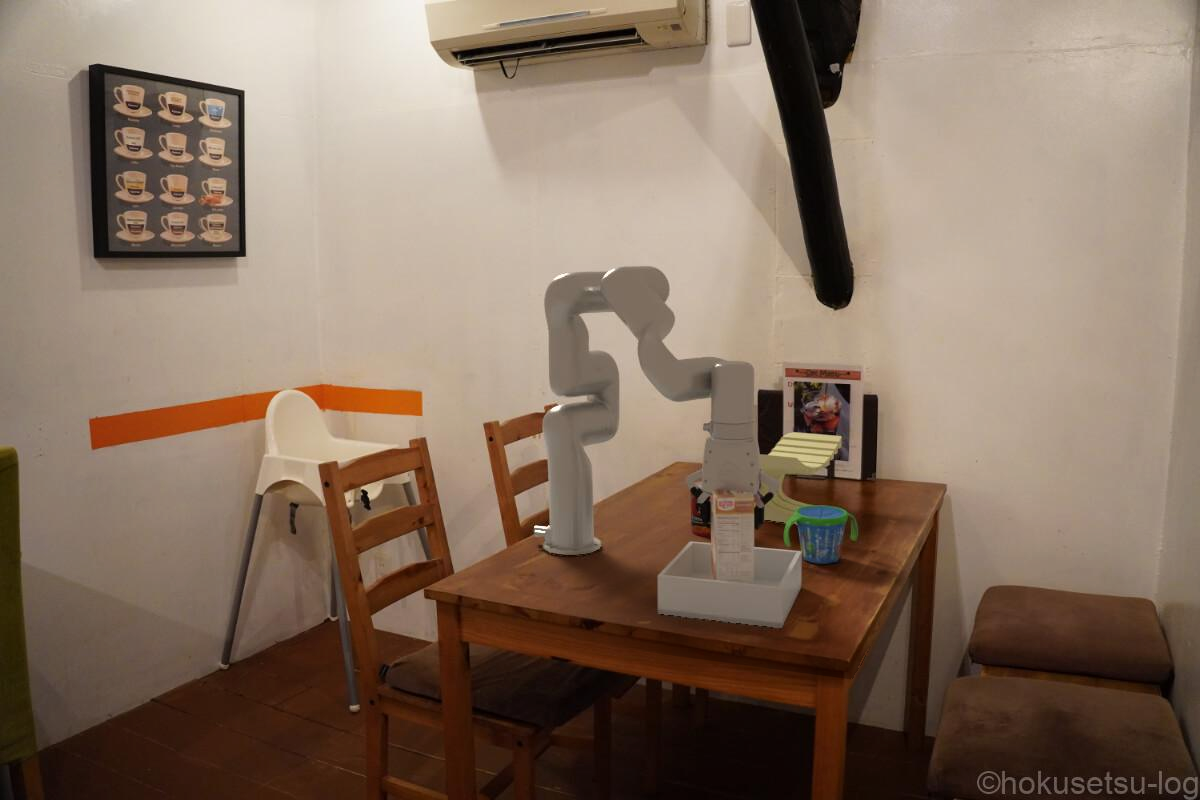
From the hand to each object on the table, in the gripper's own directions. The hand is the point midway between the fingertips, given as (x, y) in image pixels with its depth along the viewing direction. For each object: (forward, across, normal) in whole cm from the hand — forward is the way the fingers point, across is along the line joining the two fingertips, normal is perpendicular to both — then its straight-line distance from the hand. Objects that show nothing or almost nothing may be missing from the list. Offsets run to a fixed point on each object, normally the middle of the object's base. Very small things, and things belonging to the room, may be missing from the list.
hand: (731, 525), depth 169 cm
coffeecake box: (+13, 0, 0) cm, 13 cm away
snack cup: (+14, +12, +29) cm, 34 cm away
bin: (+14, 0, 0) cm, 14 cm away
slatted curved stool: (+14, 0, +61) cm, 63 cm away
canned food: (+14, -15, +42) cm, 47 cm away
